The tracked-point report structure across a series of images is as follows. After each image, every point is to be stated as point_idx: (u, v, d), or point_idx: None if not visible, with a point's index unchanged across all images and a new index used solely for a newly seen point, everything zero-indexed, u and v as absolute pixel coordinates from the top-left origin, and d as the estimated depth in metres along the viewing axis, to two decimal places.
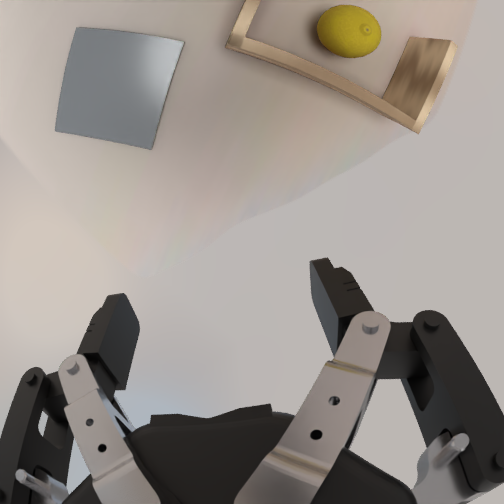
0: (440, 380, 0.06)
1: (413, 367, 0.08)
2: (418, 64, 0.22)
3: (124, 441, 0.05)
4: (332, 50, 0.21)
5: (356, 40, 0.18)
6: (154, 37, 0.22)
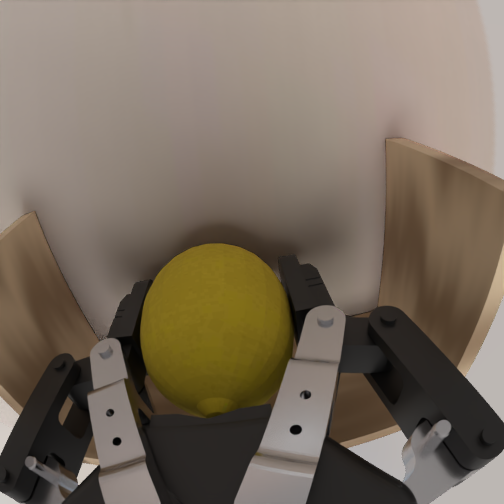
0: (408, 373, 0.06)
1: (376, 364, 0.08)
2: (428, 252, 0.10)
3: (124, 441, 0.05)
4: None
5: None
6: None
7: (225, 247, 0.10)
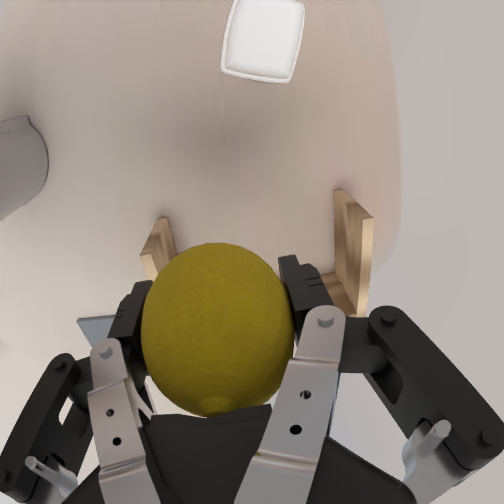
0: (408, 373, 0.06)
1: (376, 363, 0.08)
2: (347, 240, 0.28)
3: (124, 441, 0.05)
4: None
5: None
6: None
7: (226, 246, 0.10)
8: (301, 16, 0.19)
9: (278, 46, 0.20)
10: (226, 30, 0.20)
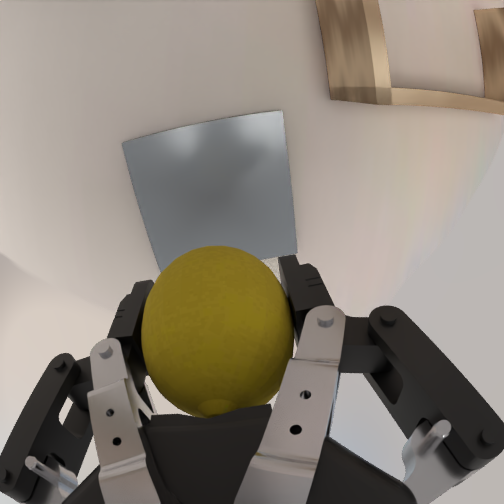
0: (408, 373, 0.06)
1: (376, 363, 0.08)
2: None
3: (124, 441, 0.05)
4: None
5: None
6: (241, 118, 0.20)
7: (226, 249, 0.10)
8: None
9: None
10: None
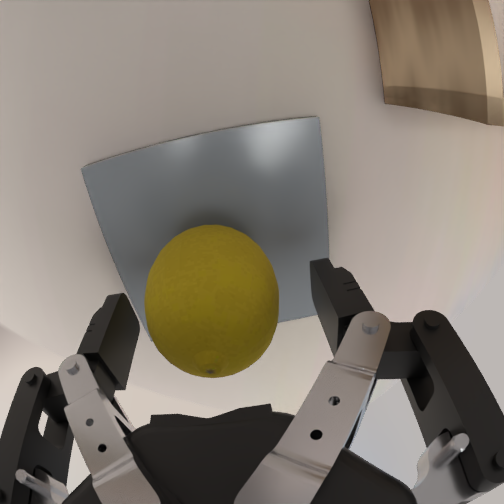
0: (440, 380, 0.06)
1: (413, 367, 0.08)
2: None
3: (124, 441, 0.05)
4: None
5: (214, 377, 0.10)
6: (257, 127, 0.13)
7: (219, 227, 0.12)
8: None
9: None
10: None
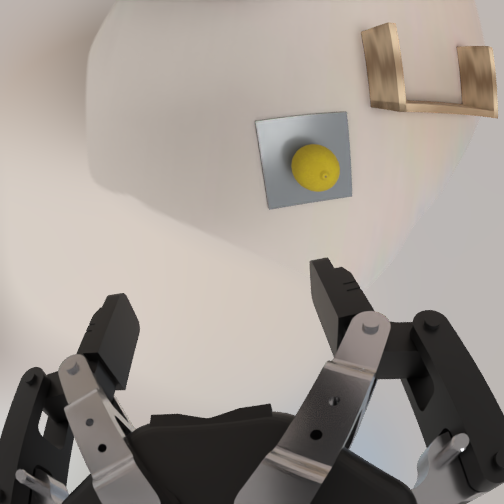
0: (440, 380, 0.06)
1: (413, 367, 0.08)
2: (475, 68, 0.27)
3: (124, 441, 0.05)
4: None
5: (322, 185, 0.32)
6: (325, 114, 0.34)
7: (317, 144, 0.33)
8: None
9: None
10: None
